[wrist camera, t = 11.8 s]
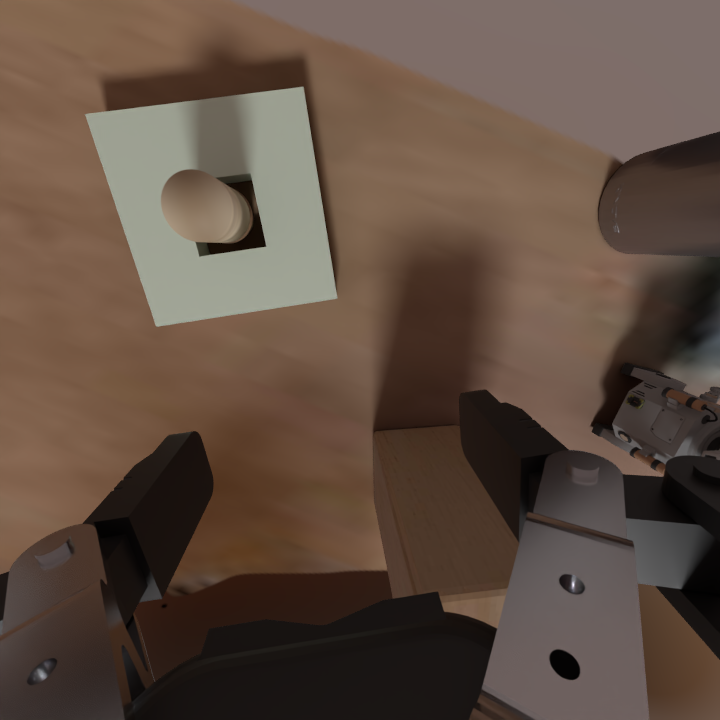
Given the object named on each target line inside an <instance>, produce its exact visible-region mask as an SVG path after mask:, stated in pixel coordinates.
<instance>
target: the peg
mask: <svg viewBox="0 0 720 720" xmlns="http://www.w3.org/2000/svg"><path fill="white" fill-rule="evenodd" d="M161 207H162V212H163V214H164V217H165V219H166V221H167V222H168V224H169V225H170V227H171V228H172V229H173V230H174V231H175V232H176V233H177V234H179V235H180V236H182V237H183V238H185V239H188V240H190V241H194V242H213V243H236V242H239V241H241V240H242V239H244V238H245V237H246V236H247V235H248V234H249V233H250V232H251V230H252V229H253V226H254V214H253V211H252V209H251V206H250V204H249V202H248V201H247V199H246V198H245V197H244V196H243V195H242V194H241V193H240V192H238V191H237V190H235V189H233V188H231V187H229V186H228V185H226V184H224V183H223V182H221V181H219V180H218V179H216V178H215V177H213V176H211V175H210V174H208V173H206V172H203V171H200V170H195V169H187V170H182V171H179V172H177V173H175V174H174V175H172V176H171V177H170V178H169V179H168V180H167V182H166V183H165V185H164V187H163V190H162V194H161Z"/></svg>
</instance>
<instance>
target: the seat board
mask: <svg viewBox="0 0 720 720" xmlns="http://www.w3.org/2000/svg"><path fill="white" fill-rule="evenodd" d="M85 115H86V118H87V121H88V124H89V127H90V130H91V133H92V136H93V139H94V142H95V145H96V148H97V151H98V154H99V157H100V160H101V163H102V166H103V169H104V172H105V175H106V178H107V181H108V184H109V187H110V190H111V193H112V196H113V199H114V202H115V205H116V208H117V211H118V214H119V217H120V220H121V223H122V226H123V229H124V231H125V234H126V237H127V240H128V243H129V246H130V249H131V252H132V255H133V258H134V261H135V264H136V267H137V270H138V273H139V276H140V279H141V282H142V285H143V288H144V291H145V294H146V297H147V300H148V303H149V306H150V309H151V312H152V315H153V318H154V321H155V324H156V327H158V326H164V325H171V324H177V323H183V322H190V321H196V320H203V319H209V318H215V317H222V316H228V315H235V314H241V313H248V312H254V311H260V310H267V309H273V308H280V307H286V306H293V305H299V304H305V303H312V302H318V301H325V300H331V299H337V293H336V287H335V281H334V274H333V268H332V262H331V256H330V249H329V243H328V237H327V231H326V225H325V218H324V212H323V206H322V200H321V193H320V187H319V181H318V175H317V168H316V162H315V156H314V150H313V144H312V137H311V131H310V125H309V119H308V112H307V106H306V100H305V94H304V87H297V88H289V89H281V90H273V91H265V92H257V93H249V94H242V95H234V96H226V97H218V98H210V99H202V100H194V101H186V102H178V103H170V104H162V105H154V106H146V107H138V108H130V109H123V110H115V111H107V112H99V113H91V114H85ZM187 169H195V170H200V171H203V172H206V173H208V174H210V175H211V176H213V177H215V178H216V179H218V180H219V181H221V182H223V183H224V184H229V183H236V182H244V181H251V180H252V182H253V187H254V191H255V196H256V201H257V205H258V210H259V215H260V219H261V224H262V228H263V233H264V238H265V242H266V247H261V248H254V249H247V250H241V251H234V252H227V253H220V254H213V255H210V252H209V249H208V245H207V242H194V241H190V240H188V239H185V238H183V237H182V236H180V235H179V234H177V233H176V232H175V231H174V230H173V229H172V228H171V227H170V225H169V224H168V222H167V221H166V219H165V217H164V214H163V212H162V207H161V194H162V190H163V187H164V185H165V183H166V182H167V180H168V179H169V178H170V177H171V176H172V175H174V174H175V173H177V172H179V171H182V170H187Z"/></svg>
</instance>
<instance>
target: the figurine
mask: <svg viewBox="0 0 720 720" xmlns="http://www.w3.org/2000/svg"><path fill="white" fill-rule="evenodd" d="M620 373H623V374H626V375H628V376H632V377H636V378H639V379H641V380H644V381H643V382H642V383H640V384H639V385H637V386H636V387H634V388H633V389H632V390H630V391H629V392H628V394H627V396H626V397H625V399H624V401H623V403H622V405H621V407H620V409H619V411H618V413H617V415H616V417H615V419H614V421H613V423H612V425H613V426H609V425H604V424H599V423H595V425H594V427H593V430H592V432H593V433H594V434H596V435H598V436H600V437H603V438H605V439H606V440H608V441H609V442H611V443H612V444H614V445H616V446H617V447H619V448H621V449H623V450H625V451H627V452H629V453H630V455H631V456H632V457H634V458H637V459H638V460H640V461H642V462H643V463H645V464H646V465H648V466H650V467H651V468H652V469H654V470H656V471H658V472H660V473H661V474H663V475H664V471H665V465H666V462H667V461H668V460H669V459H671V458H673V457H677V456H685V455H692V456H703V457H708V458H713V459H717V460H720V405H718V404H716V403H717V402H718V400H719V398H720V388H719V387H711V388H710V390H711V391H709V392H705V394H701V395H700V398H699V397H696V396H694V395H691V394H689V393H687V392H684V391H683V390H684V388H685V386H686V384H684V383H682V382H680V381H678V380H675V379H673V378H670V377H668V376H666V375H663V374H664V373H661V372H659V371H657V370H653V369H649V368H645V367H641V366H637V365H633V364H629V363H625V364H624V366H623V368H622V370H621V372H620Z"/></svg>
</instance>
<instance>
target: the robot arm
mask: <svg viewBox="0 0 720 720" xmlns="http://www.w3.org/2000/svg"><path fill="white" fill-rule="evenodd" d="M599 224H600V229H601V232H602V234H603V236H604V238H605V240H606V241H607V242H608V244H609V245H610V246H611V247H613V248H614V249H616V250H617V251H620V252H623V253H627V254H649V255H674V256H706V257H720V132H717V133H713V134H709V135H706V136H702V137H699V138H695V139H692V140H688V141H684V142H681V143H677V144H674V145H671V146H667V147H663V148H660V149H657V150H653V151H649V152H646V153H643V154H640V155H638V156H635V157H633V158H632V159H630V160H629V161H627V162H626V163H624V164H623V165H622V166H621V167H620V168H619V169H618V170H617V171H616V172H615V174H614V175H613V176H612V177H611V179H610V180H609V182H608V184H607V186H606V188H605V189H604V192H603V195H602V198H601V201H600V207H599ZM459 411H460V437H461V445H462V449H463V452H464V455H465V457H466V459H467V461H468V462H469V464H470V466H471V467H472V469H473V470H474V472H475V474H476V475H477V477H478V478H479V480H480V482H481V483H482V485H483V486H484V488H485V490H486V491H487V493H488V494H489V496H490V498H491V499H492V501H493V502H494V504H495V506H496V507H497V509H498V510H499V512H500V514H501V515H502V517H503V518H504V520H505V522H506V523H507V525H508V526H509V528H510V530H511V531H512V533H513V534H514V536H515V537H516V539H517V541H518V542H519V547H518V551H517V555H516V559H515V562H514V566H513V570H512V574H511V578H510V582H509V586H508V589H507V593H506V597H505V601H504V605H503V609H502V613H501V617H500V620H499V624H498V628H495V627H493V626H491V625H489V624H487V623H485V622H483V621H480V620H478V619H475V618H472V617H469V616H466V615H461V614H457V613H452V612H444V610H443V606H442V603H441V600H440V596H439V593H438V591H437V592H431V593H425V594H419V595H413V596H406V597H400V598H394V599H388V600H383V601H380V602H378V603H376V604H373V605H371V606H369V607H366V608H364V609H362V610H360V611H357V612H355V613H353V614H351V615H348V616H346V617H344V618H341V619H339V620H337V621H335V622H332V623H330V624H327V625H310V624H302V623H294V622H285V621H276V620H267V619H266V620H260V621H253V622H248V623H241V624H236V625H230V626H223V627H217V628H211V629H209V631H208V634H207V637H206V640H205V643H204V646H203V649H202V652H201V653H200V654H198V655H196V656H194V657H192V658H190V659H189V660H187V661H185V662H183V663H181V664H180V665H178V666H177V667H175V668H174V669H172V670H171V671H169V672H168V673H166V674H165V675H163V676H162V677H161V678H160V679H158V680H157V681H156V682H155V681H154V678H153V674H152V671H151V667H150V663H149V660H148V656H147V652H146V649H145V645H144V641H143V638H142V634H141V630H140V627H139V623H138V620H137V618H136V616H135V614H134V611H135V609H136V607H137V605H138V604H139V602H143V601H149V600H156V599H161V598H163V596H164V594H165V592H166V590H167V587H168V585H169V583H170V581H171V579H172V577H173V575H174V573H175V571H176V569H177V567H178V565H179V563H180V561H181V558H182V556H183V554H184V552H185V550H186V548H187V546H188V544H189V542H190V540H191V538H192V536H193V534H194V531H195V529H196V527H197V525H198V523H199V521H200V519H201V517H202V515H203V513H204V511H205V509H206V507H207V505H208V502H209V500H210V498H211V496H212V493H213V475H212V472H211V468H210V465H209V462H208V458H207V455H206V452H205V449H204V445H203V442H202V439H201V436H200V435H199V433H198V432H196V431H193V432H186V433H179V434H173V435H169V436H167V437H166V438H165V440H164V441H163V442H162V443H161V444H160V445H159V446H158V448H157V449H156V450H155V451H154V452H153V453H152V454H151V455H149V456H148V457H146V458H145V459H143V460H142V461H140V462H139V463H138V464H136V465H135V466H134V467H133V468H132V469H131V470H130V471H129V472H128V474H127V475H126V476H125V477H124V480H122V481H120V482H119V484H118V485H117V486H116V487H115V488H114V491H111V492H110V494H109V495H108V496H107V497H106V498H105V499H104V500H103V501H102V502H101V504H100V505H99V506H98V507H97V508H96V509H95V510H94V511H93V512H92V514H91V515H90V516H89V517H88V518H87V519H86V520H85V521H84V523H83V524H78V525H73V526H70V527H67V528H64V529H61V530H59V531H56V532H54V533H52V534H50V535H48V536H46V537H45V538H43V539H41V540H40V541H38V542H37V543H35V544H34V545H32V546H31V547H30V548H28V549H27V550H26V551H25V552H23V553H22V554H21V555H20V556H19V557H18V558H17V559H16V561H15V562H14V563H13V565H12V566H11V568H10V571H9V572H6V573H3V574H1V575H0V720H649V712H648V700H647V690H646V677H645V666H644V654H643V641H642V630H641V618H640V607H639V594H638V583H639V584H647V585H654V586H656V587H657V589H658V590H659V591H660V592H661V593H662V594H663V595H664V597H665V598H666V599H667V600H668V601H669V602H670V603H671V604H672V606H673V607H674V608H675V609H676V610H677V611H678V613H679V614H680V615H681V616H682V617H683V618H684V619H685V621H686V622H687V623H688V624H689V625H690V626H691V627H692V628H693V630H694V631H695V632H696V633H697V634H698V635H699V636H700V638H701V639H702V640H703V641H704V642H705V643H706V644H707V646H708V647H709V648H710V649H711V650H712V651H713V653H714V654H715V655H716V656H717V657H718V658H719V659H720V460H717V459H713V458H708V457H703V456H692V455H685V456H677V457H673V458H671V459H669V460H668V461H667V462H666V465H665V471H664V476H663V477H656V476H639V475H625V474H622V473H621V471H620V469H619V468H618V467H617V466H616V465H614V464H613V463H612V462H610V461H609V460H607V459H605V458H603V457H601V456H598V455H595V454H592V453H588V452H584V451H576V450H568V449H567V448H566V447H565V446H564V445H563V444H561V443H560V442H559V441H558V440H557V439H556V438H554V437H553V436H552V435H551V434H550V433H549V432H548V431H546V430H545V429H544V428H541V425H539V424H538V423H537V422H536V421H535V420H532V418H531V417H530V416H529V415H528V414H527V413H526V412H524V411H523V410H522V409H520V408H518V407H516V406H513V405H511V404H509V403H500V402H499V401H498V400H497V399H496V398H495V397H494V396H493V395H491V394H490V393H489V392H488V391H487V390H478V391H472V392H465V393H461V394H460V397H459Z"/></svg>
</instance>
